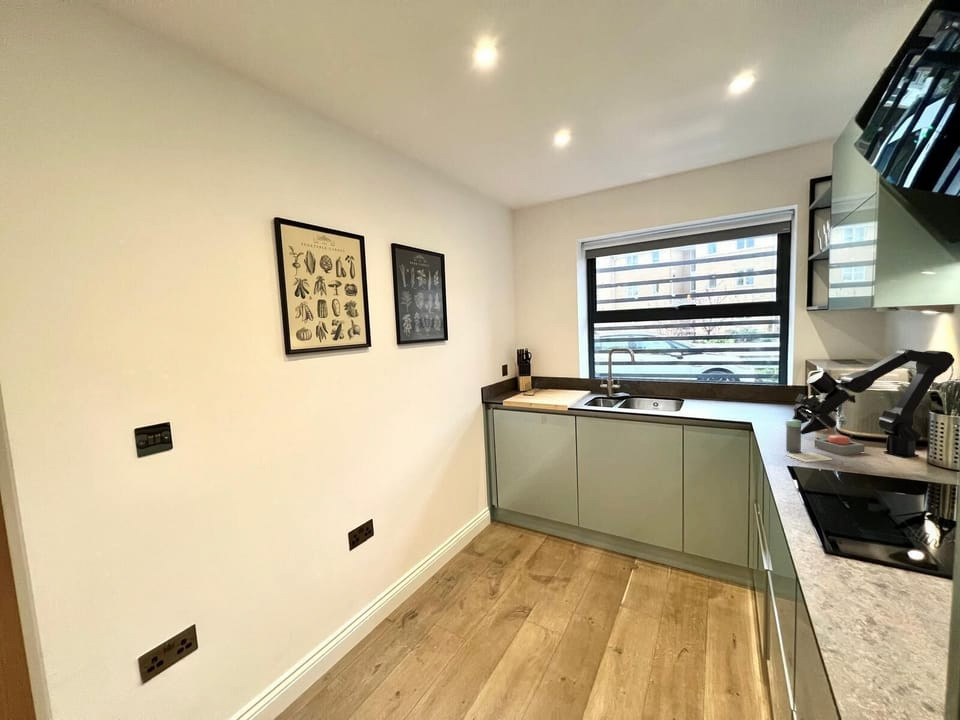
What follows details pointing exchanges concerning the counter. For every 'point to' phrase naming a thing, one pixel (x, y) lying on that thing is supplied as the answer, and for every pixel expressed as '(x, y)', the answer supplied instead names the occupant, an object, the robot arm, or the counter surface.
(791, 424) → the grey green-topped canister
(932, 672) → the counter surface
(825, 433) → the bath foam
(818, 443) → the button box
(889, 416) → the robot arm
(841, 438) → the button
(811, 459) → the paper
